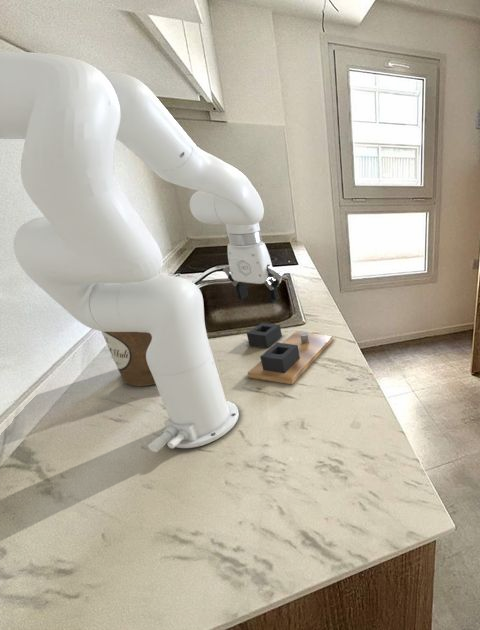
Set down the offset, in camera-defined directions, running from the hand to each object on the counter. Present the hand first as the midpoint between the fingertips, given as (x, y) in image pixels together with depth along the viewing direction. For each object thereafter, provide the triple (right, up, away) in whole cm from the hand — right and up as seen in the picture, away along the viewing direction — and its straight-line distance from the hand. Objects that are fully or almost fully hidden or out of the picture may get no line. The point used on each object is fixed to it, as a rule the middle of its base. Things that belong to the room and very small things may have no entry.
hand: (259, 299), depth 92 cm
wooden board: (+11, -16, -2) cm, 19 cm away
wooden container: (-21, -18, -7) cm, 29 cm away
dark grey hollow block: (-1, -12, +6) cm, 14 cm away
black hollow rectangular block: (+9, -17, -7) cm, 21 cm away
